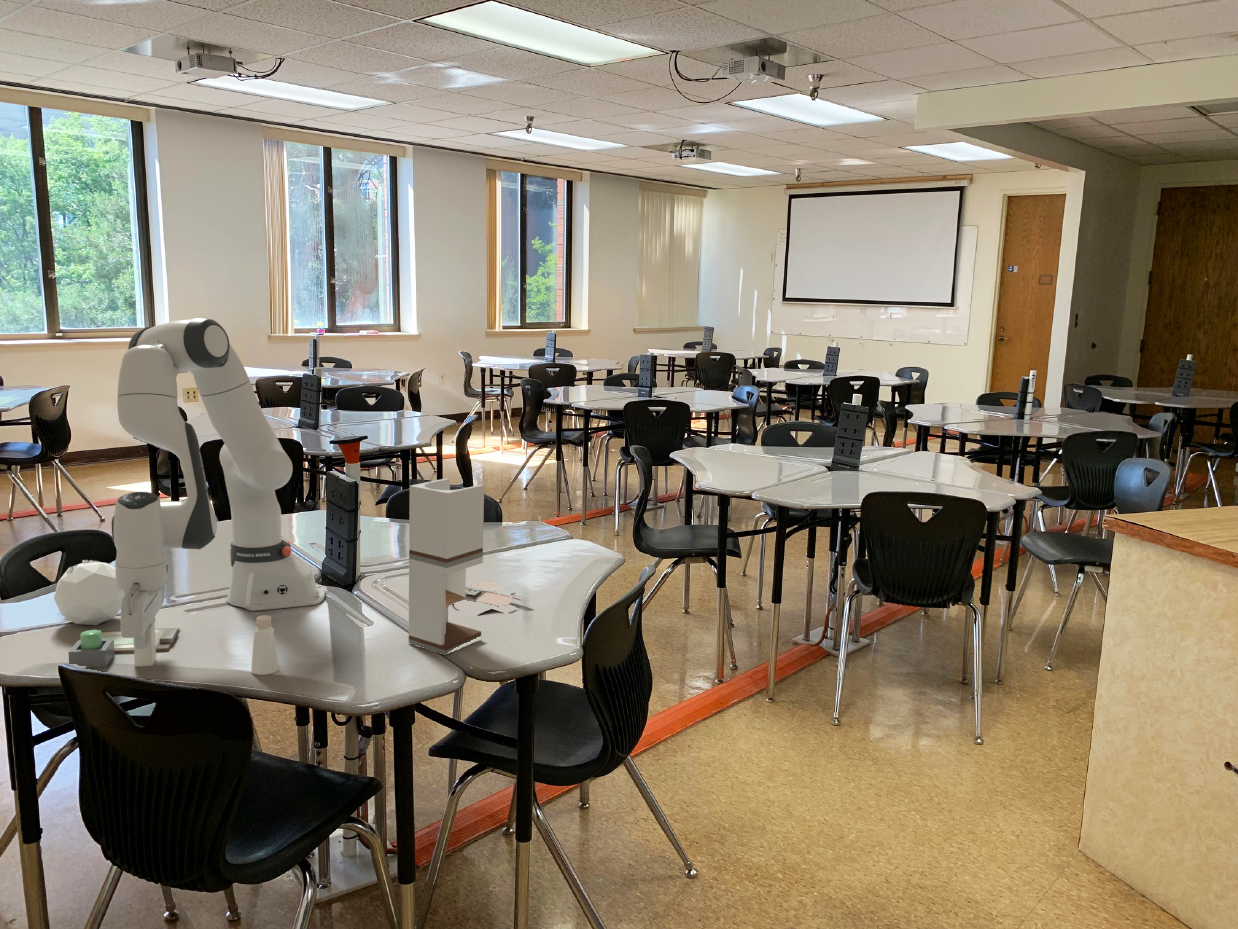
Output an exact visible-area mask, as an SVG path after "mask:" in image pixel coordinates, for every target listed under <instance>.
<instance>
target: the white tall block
mask: <svg viewBox="0 0 1238 929" xmlns="http://www.w3.org/2000/svg"><path fill="white" fill-rule="evenodd" d="M155 623H156V616H155V617H154V619H153V620H152V622H151V623H150V625H149V626H148V628H147V630H146V638H147V643H148V644H147V646H146V648H145V649H137V648H136V641H135V638H133V639H134V653H133V656H134V667H136V668H137V667H151V666H154V665H155V663H156V661H157V651H156V643H155V629H156V627H155V626H156V625H155Z"/></svg>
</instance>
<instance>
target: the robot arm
mask: <svg viewBox="0 0 1238 929" xmlns="http://www.w3.org/2000/svg"><path fill="white" fill-rule="evenodd" d="M189 372H190V373H191V374H192V375H193V379H194V382H195V385H196V388H197V390H198V393H199V395H200V398H201V400H202V402H203V405H204V407H205V409H206V412H207V415H208V417H209V419H210V422H211V424H212V427H213V428H214V430H215V431H216V433H217V434H218V435H219V437H220V438H221V439H222V441H223V443H224V444H223V445H222V447H221V448H220V451H219V462H220V465H221V467H222V471H223V474H224V475H223V476H224V482H225V487H226V491H227V496H228V501H229V506H230V515H231V534H232V535H231V542H230V547H229V558H230V559H229V561H230V566H231V576H230V583H229V589H228V593H227V597H226V602H227V603H228V604H230V605H231V606H235V607H239V608H244V609H246V610H248V611H251V612H252V611H253V612H255V611H266V610H275V609H284V608H296V607H306V606H315V605H318V604H320V603H321V602H323V600H325V598H326V591H325V587H324V586H323V585H322V584H318V583H316V579H315V578H316V577H315V575H314V571H313V569H311V567H309V565H307V564H306V563H303V562H302V561H301V560H299V559H297V558H296V557H294V556H292V554H291V553H292V547H291V543H290V541H289V540H287V541H286V540H284V539H282V510H281V506H280V503H279V501H278V498H277V495H276V490H278V489H281V488H282V487H283V488H284V486H285V485H287V484H288V483H289V481H290V479H291V477H292V476H293V475H292V474H293V470H294V469H293V463H292V460H291V459H290V457H289V455H288V454H287V453H286V451H285V450H284V449H283V447H282V444H281V442H280V440H279V439H278V436H277V435H276V433H275V431H274V430H273V428H272V427H271V424H270V423H269V421H268V420H267V418H266V415H265V414H264V412H263V410H262V408H261V406H260V403H259V400H258V398H257V395H256V393H255V390H254V388H253V386H252V385H253V384H252V383H251V381H250V378H249V376H248V373H247V371H246V369H245V367H244V365H243V362H242V361H241V359H240V358H239V355H238V354H237V352H236V351H235V349H234V348H233V346H232V345H231V344H230V339H229V336H228V334H227V332H226V330H225V329H224V327H223V326H221V324H220V323H219V322H217V321H216V320H215V319H211V318H205V317H197V318H196V317H195V318H192V319H179V320H172V321H168V322H166V323H162V324H158V325H155V326H146V327H145V328H141V329H140V330H138V331H137V332H135V333H134V334H133V335H132V337H131V338H130V340H129V344H128V348H127V350H126V351H125V352H124V355H122V360H121V364H120V369H119V376H118V383H117V398H116V399H117V400H116V401H117V415H118V420H119V421H118V422H119V424H120V425H121V427H122V428H123V429H124V431H125V432H126V433H128V434H129V435H130V436H132V437H133V438H136V439H137V440H140V441H141V442H144V443H146V444H148V445H149V444H150V445H152V446H156V447H159V448H161V449H165V450H167V451H169V452H171V453H172V454H173V455H176V457H177V458H178V459H179V462H180V464H181V468H182V474H183V479H184V484H185V489H186V496H187V498H185V499H183V500H178V501H177V500H176V501H175V500H171V501H161V500H160V497H159V496H158V495H157V494H155V493H152V492H149V491H135V492H134V491H133V492H130V493H129V492H128V493H126V494H122V495H121V496H119V497H118V498H117V500H116V502H115V506H114V507H115V508H114V515H113V516H112V518H111V537H112V542H113V543H114V546H115V549H116V558H115V561H114V568H115V570H116V587H117V588H118V589H120V590H124V595H125V596H124V598H123V599H122V602H121V609H120V630H121V635H122V637H123V638H135V641H136V648H137V649H145V648H146V646H147V644H148V643H147V638H146V630H147V628H148V626H149V625H150V623H151V622H152V620H153V619H154V617H155V618H156V615H157V614H158V613H159V611H160V610H161V608H162V606H163V605H164V601H165V596H166V595H165V591H166V584H167V582H168V581H167V580H168V579H167V576H168V572H169V565H168V562H167V557H166V554H165V552H164V550H165V549H183V550H184V549H185V550H201V549H203V548H205V547H206V546H207V545H209V544H210V543H211V542H212V541H213V540H214V539H215V538H216V534H217V529H218V522H217V521H218V520H217V517H216V514H215V511H214V508H213V505H212V503H211V498H210V494H209V493H210V492H209V489H208V484H207V478H206V473H205V466H204V462H203V458H202V452H201V448H200V444H199V440H198V436H197V433H196V430H195V429H194V427H193V425H192V424H191V423H189V422H187V421H185V420H184V418H183V416H182V415H181V412H180V409H179V404H178V384H177V377H178V375H179V374H187V373H189Z"/></svg>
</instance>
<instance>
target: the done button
mask: <svg viewBox="0 0 1238 929" xmlns="http://www.w3.org/2000/svg"><path fill="white" fill-rule="evenodd" d="M79 636H80V637H79V638H80V640H81V650H85V649H101V648H102V635H101V630H100V629H91V630H85V631H81V633H80V634H79Z"/></svg>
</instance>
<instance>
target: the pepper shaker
mask: <svg viewBox="0 0 1238 929" xmlns="http://www.w3.org/2000/svg"><path fill="white" fill-rule="evenodd" d="M255 621H256V628H254V632H253V645H252V654H251V655H252V656H251V665H250V666H251V667H250V669H251V670H250V671H251V672H250V673H251V674H253V675H257V676H267V675H272V674H274V673H276V672H278V671H279V661H278V654H277V647H276V638H275V631H274V627H272V616H270V615H267V614H263V615H258V616H257V617H256V619H255Z"/></svg>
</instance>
